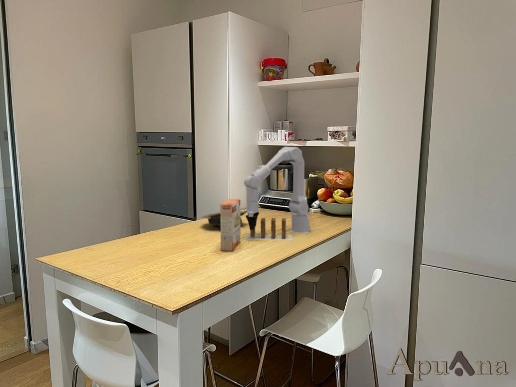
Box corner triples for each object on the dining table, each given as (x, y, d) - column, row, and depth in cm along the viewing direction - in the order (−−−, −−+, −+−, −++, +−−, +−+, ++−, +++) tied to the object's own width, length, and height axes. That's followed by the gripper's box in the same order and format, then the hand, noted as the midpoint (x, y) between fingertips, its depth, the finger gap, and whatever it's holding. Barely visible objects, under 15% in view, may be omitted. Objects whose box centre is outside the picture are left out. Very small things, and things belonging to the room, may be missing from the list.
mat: (292, 236, 193) (292, 235, 193) (291, 241, 185) (291, 240, 184) (246, 235, 196) (246, 234, 196) (243, 240, 187) (243, 239, 187)
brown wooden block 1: (255, 233, 193) (255, 216, 192) (254, 236, 188) (253, 218, 187) (251, 233, 193) (251, 216, 192) (250, 236, 188) (250, 218, 187)
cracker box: (233, 251, 170) (232, 204, 166) (220, 251, 171) (219, 203, 168) (241, 242, 183) (240, 198, 180) (229, 242, 184) (228, 198, 181)
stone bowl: (243, 232, 202) (241, 214, 201) (197, 234, 207) (195, 217, 205) (251, 220, 226) (250, 205, 225) (210, 223, 231) (208, 207, 229)
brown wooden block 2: (265, 236, 193) (265, 218, 191) (264, 238, 188) (264, 220, 186) (261, 235, 193) (261, 218, 192) (260, 238, 188) (260, 220, 187)
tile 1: (285, 236, 192) (285, 218, 190) (285, 239, 187) (285, 220, 185) (282, 236, 192) (282, 218, 190) (281, 238, 187) (281, 220, 186)
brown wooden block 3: (275, 236, 192) (275, 218, 191) (275, 238, 187) (274, 220, 186) (271, 236, 192) (271, 218, 191) (271, 238, 187) (271, 220, 186)
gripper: (246, 198, 196) (246, 224, 198) (241, 203, 181) (242, 231, 183) (260, 198, 195) (260, 224, 197) (257, 203, 181) (257, 232, 183)
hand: (252, 228), depth 190 cm, fingers closed on brown wooden block 1, 5 cm apart
